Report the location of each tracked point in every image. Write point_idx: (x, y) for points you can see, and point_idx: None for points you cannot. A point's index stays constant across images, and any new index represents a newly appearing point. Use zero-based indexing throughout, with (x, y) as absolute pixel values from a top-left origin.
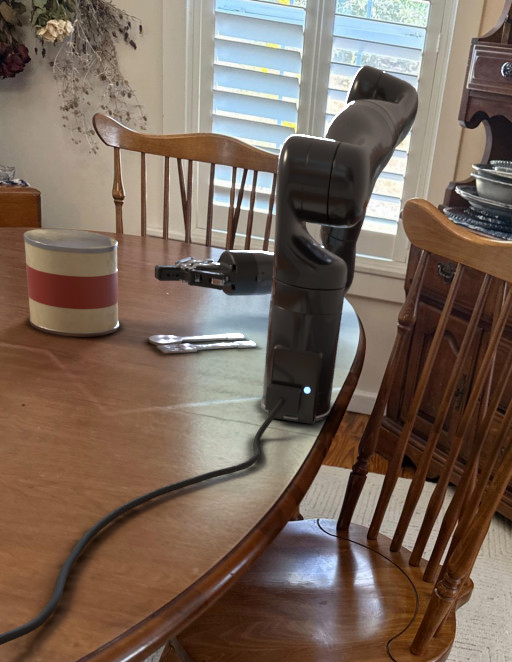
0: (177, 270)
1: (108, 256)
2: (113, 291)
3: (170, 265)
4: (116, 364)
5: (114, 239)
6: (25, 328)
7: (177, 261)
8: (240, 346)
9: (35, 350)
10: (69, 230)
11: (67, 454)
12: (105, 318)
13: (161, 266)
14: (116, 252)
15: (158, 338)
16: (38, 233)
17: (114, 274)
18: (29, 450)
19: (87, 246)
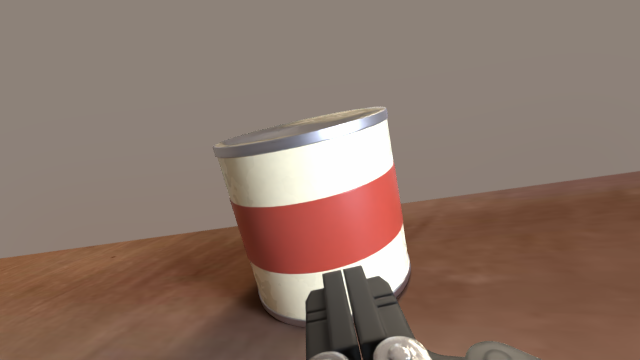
0: (316, 350)
1: (224, 167)
2: (253, 242)
3: (371, 310)
4: (131, 317)
5: (295, 134)
6: None
7: (490, 353)
8: None
9: (237, 250)
10: (372, 110)
11: (7, 282)
12: (256, 279)
13: (336, 277)
14: (251, 165)
15: None
16: (328, 115)
17: (247, 210)
18: (43, 265)
19: (230, 141)
